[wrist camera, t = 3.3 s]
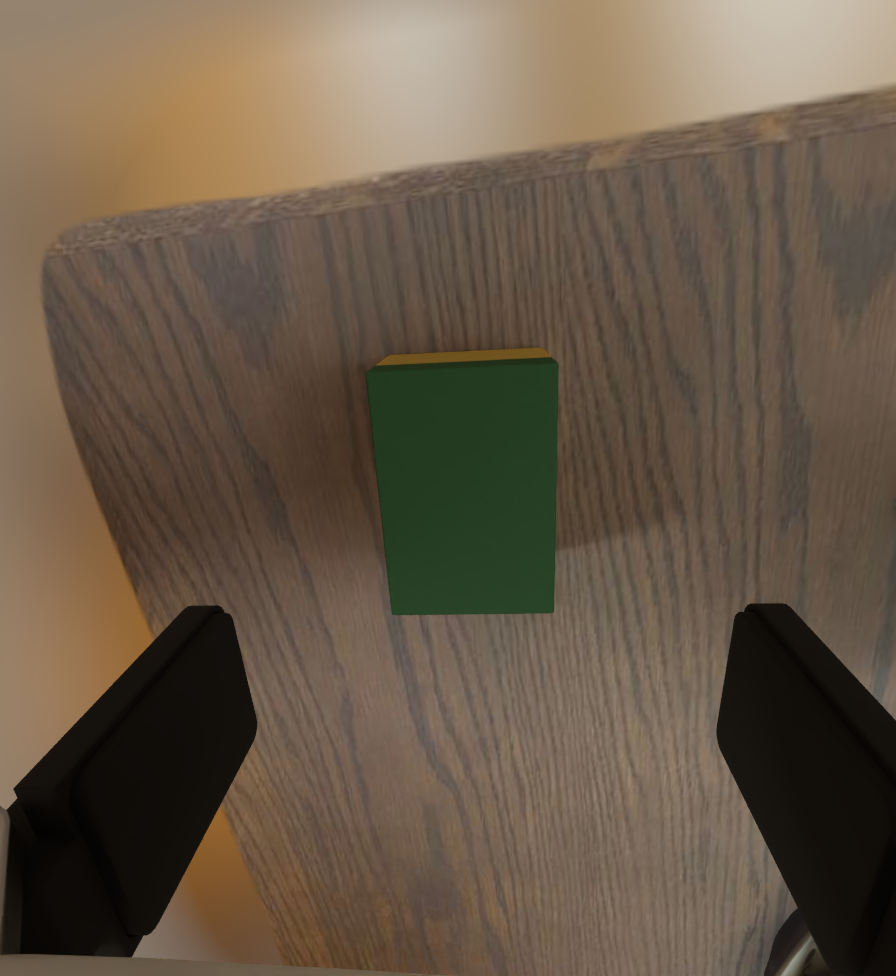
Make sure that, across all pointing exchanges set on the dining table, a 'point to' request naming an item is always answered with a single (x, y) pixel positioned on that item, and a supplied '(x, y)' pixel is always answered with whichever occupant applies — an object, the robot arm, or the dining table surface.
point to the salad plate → (796, 951)
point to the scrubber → (467, 479)
